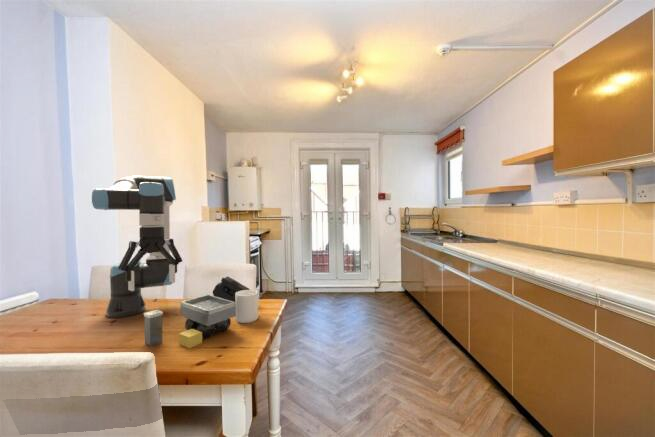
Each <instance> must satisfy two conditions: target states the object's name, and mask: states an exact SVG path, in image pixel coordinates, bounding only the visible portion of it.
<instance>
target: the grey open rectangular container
mask: <svg viewBox="0 0 655 437" xmlns="http://www.w3.org/2000/svg"><path fill="white" fill-rule="evenodd" d="M180 316H181V317H183V318H186V321H185V323H184V324H185V325H184V327H185V328H184V329H185V331H187V330H189V329H195V330H198V331H200V332H202V339H208V338H211V336H212V335H213V334H214V333H215V331H218V332H222V333H223V332H226V331H227V330H228V329H229V328H230V326H231V323H232V322H231V319H232V318H234V317H235V316H236V302H233V301H229V300H226V299H222V298H219V297H215V296H214V295H211V294H206V295H203V296H198V297H195V298H191V299H187V300H183V301H180Z"/></svg>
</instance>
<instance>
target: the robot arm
mask: <svg viewBox="0 0 655 437" xmlns="http://www.w3.org/2000/svg"><path fill="white" fill-rule="evenodd" d="M176 200H177V198H176V191H175V184H174V180H173V179H172V177H168V176H157V175H156V176H154V175H153V176H148V175H132V176H131V175H130V176H126V177H122V178H119V179H118V180H116V181H115V182H114V183H113V185H112V186H110V187H109V188H105V187H104V188H94V189H93V190H92V191H91V204H92V208H94V209H95V210H100V211H103V210H104V211H108V210H109V211H110V210H111V211H112V210H113V211H114V210H119V211H120V210H121V211H123V210H124V211H125V210H126V211H127V210H129V211H132V210H135V211H138V210H139V211H138V212H139V215H138V216H139V218H138V220H139V226H141V227H139V230H138V231H139V241H132V240H130V241H129V242H128V247H127V250H126V252H125V254H124V256H123V257H122V259H121V261H120V263H116V264H113V265H112V266H111V267H110V273H109V282H110V283H109V284H110V285H109V286H110V298H109V301H108V303H107V304H108V305H107V307H106V310H105V316H106V317H108V318H123V317H124V318H125V317H130V316H131V317H132V316H134V315H138V314H141V313H144V312H145V311H146V303H145V299H144V297H143V295H142V289H146V288H155V287H157V288H158V287H166V286H171V285H173V284H174V283H176V274H177V273H178V265H179V264H180V263H183V259H182V257H181V255H180V253H179V251H178V249H177V248H176V245H175V243H174V242H175V241H174V239H173V238H170V234H171V232H170V230H171V229H170V207H171V206H172V205H173V203H174V201H176ZM138 247H140V248H139V250H138V251H137V253H136V254H135V255H134V253H135V251H136V249H137V248H138ZM146 254H149V256H148V257H147V258H145V262H143V263H142V261H141V259H142V258H143V257H144V256H145V255H146ZM171 254H172V255H171ZM133 255H134V257H132V256H133Z"/></svg>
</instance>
